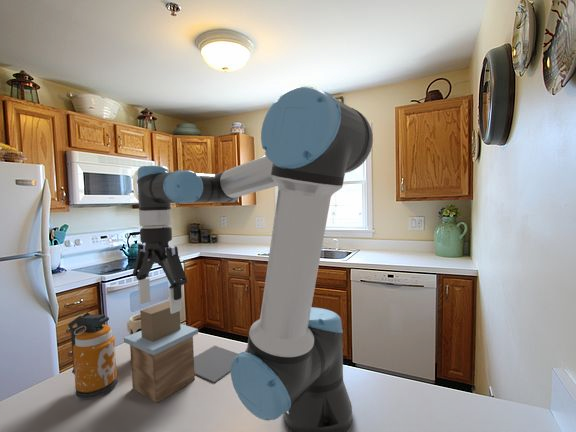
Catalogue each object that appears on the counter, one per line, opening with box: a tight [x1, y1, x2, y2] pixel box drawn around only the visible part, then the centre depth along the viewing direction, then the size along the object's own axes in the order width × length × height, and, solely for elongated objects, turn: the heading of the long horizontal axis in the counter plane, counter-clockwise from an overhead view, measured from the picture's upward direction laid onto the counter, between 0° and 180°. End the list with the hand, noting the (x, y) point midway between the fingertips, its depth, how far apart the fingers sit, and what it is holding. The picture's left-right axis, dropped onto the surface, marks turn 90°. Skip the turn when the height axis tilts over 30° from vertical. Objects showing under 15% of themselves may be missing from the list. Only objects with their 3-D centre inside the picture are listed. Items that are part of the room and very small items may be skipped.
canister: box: [67, 312, 118, 400], centre depth 76 cm, size 9×11×20 cm
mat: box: [194, 345, 239, 384], centre depth 87 cm, size 15×14×1 cm
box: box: [129, 336, 196, 404], centre depth 78 cm, size 11×11×12 cm
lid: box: [123, 300, 199, 355], centre depth 77 cm, size 13×13×9 cm
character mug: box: [126, 313, 141, 336], centre depth 92 cm, size 11×7×13 cm, turn 77°
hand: (159, 307), depth 77 cm, fingers open, 13 cm apart
